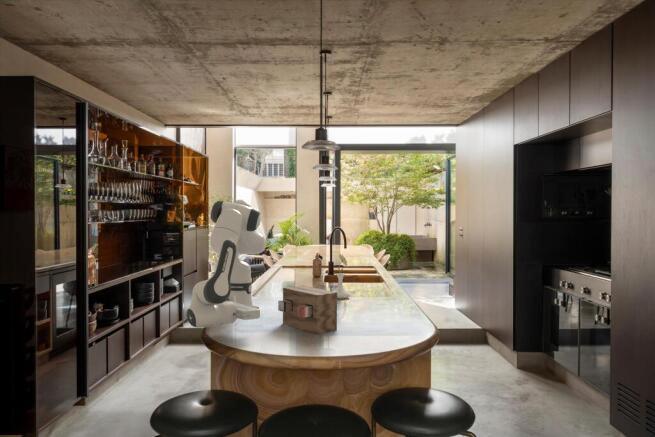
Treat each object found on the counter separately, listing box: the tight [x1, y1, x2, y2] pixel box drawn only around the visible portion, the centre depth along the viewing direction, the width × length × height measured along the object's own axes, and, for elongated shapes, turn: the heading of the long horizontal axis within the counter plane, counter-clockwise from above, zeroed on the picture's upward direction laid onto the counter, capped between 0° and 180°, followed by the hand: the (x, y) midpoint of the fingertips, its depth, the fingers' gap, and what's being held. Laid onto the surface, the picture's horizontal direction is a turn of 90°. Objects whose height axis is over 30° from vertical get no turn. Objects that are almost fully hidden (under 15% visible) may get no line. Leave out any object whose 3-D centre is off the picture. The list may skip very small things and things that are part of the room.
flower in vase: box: [332, 253, 351, 300], centre depth 289 cm, size 13×11×25 cm
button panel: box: [282, 285, 338, 335], centre depth 219 cm, size 11×24×16 cm, turn 40°
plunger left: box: [277, 299, 293, 313], centre depth 221 cm, size 8×4×4 cm, turn 130°
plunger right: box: [298, 305, 313, 318], centre depth 210 cm, size 8×4×4 cm, turn 130°
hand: (257, 308), depth 210 cm, fingers closed
